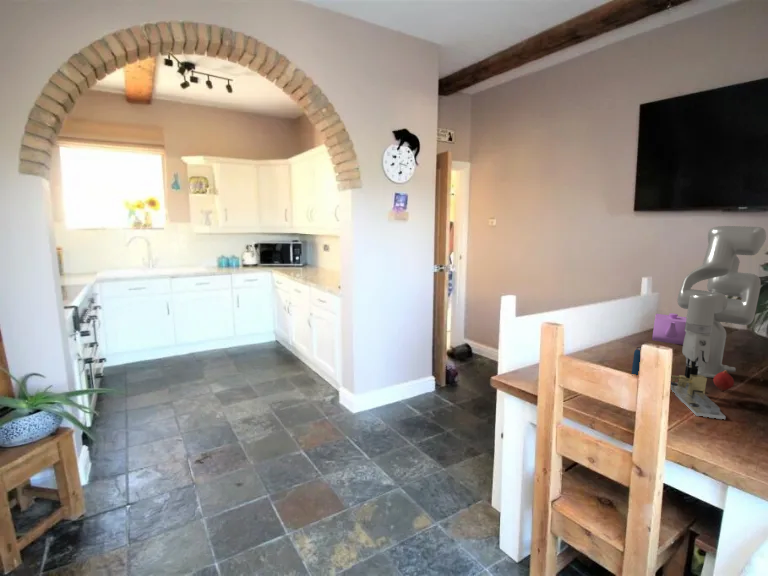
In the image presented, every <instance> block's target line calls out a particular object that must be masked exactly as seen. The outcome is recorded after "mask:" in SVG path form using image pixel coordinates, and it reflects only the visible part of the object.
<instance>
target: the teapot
mask: <svg viewBox="0 0 768 576" xmlns="http://www.w3.org/2000/svg"><path fill="white" fill-rule="evenodd" d="M686 318H687V316H685V317H684V316H679V314H678V313H673V312H672V313H670V312H669V313H668V314H662V313H661V314H660V313H655V316H654V322H653V331H652V336H651V337H652V339H651V341H655V342H661V343H669V344H674V345H681V346H683V343H684V338H685V334H686V331H685V325H686Z"/></svg>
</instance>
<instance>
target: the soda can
mask: <svg viewBox="0 0 768 576" xmlns="http://www.w3.org/2000/svg"><path fill="white" fill-rule="evenodd" d="M641 347H642V346H637V347H636V349H635V350H634V353H633V359H632V368H631V375H632V374H636V375H638V371H639V362H640V350H641Z"/></svg>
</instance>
